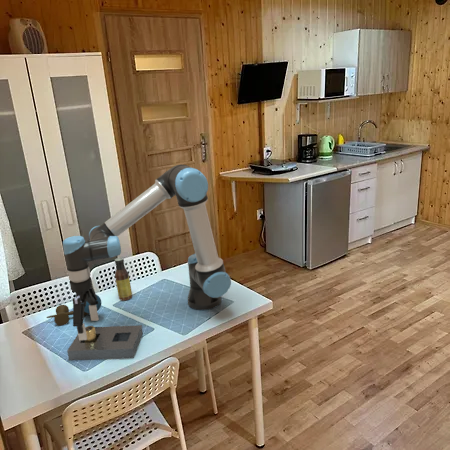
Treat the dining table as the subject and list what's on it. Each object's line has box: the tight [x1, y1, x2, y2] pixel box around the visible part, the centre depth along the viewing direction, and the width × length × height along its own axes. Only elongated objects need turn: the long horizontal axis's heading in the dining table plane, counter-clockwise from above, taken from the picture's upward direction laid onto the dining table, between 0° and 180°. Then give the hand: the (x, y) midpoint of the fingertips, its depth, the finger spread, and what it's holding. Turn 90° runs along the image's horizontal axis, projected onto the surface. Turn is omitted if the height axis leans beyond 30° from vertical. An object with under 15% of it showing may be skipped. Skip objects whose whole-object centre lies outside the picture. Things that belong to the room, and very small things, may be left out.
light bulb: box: [81, 294, 102, 315], centre depth 183 cm, size 8×8×12 cm
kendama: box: [46, 304, 90, 327], centre depth 186 cm, size 6×10×20 cm
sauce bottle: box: [114, 257, 133, 302], centre depth 199 cm, size 6×6×20 cm
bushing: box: [85, 325, 97, 343], centre depth 163 cm, size 4×4×8 cm
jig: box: [66, 324, 143, 361], centre depth 164 cm, size 24×16×4 cm, turn 89°
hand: (89, 329), depth 162 cm, fingers open, 13 cm apart
